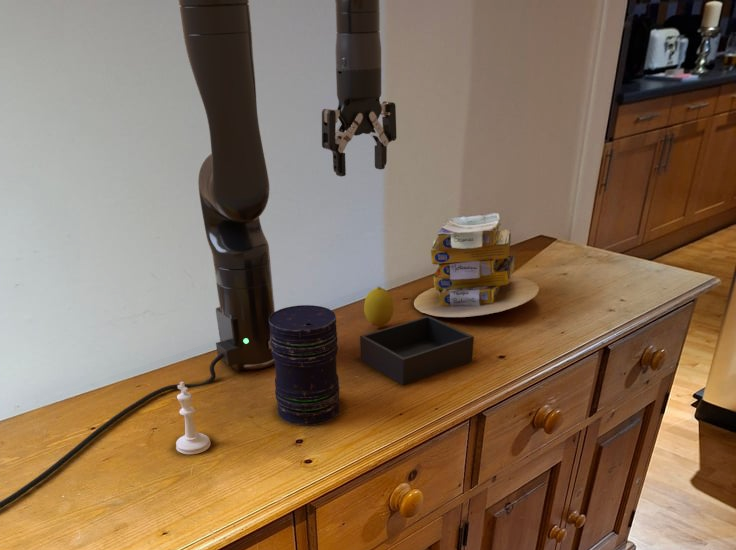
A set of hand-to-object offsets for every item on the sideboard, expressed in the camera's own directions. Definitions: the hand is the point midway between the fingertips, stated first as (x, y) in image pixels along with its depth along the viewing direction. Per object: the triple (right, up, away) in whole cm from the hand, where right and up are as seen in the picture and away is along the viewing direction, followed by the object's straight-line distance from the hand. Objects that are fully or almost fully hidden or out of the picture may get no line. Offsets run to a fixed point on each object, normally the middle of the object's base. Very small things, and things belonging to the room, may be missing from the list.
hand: (360, 172), depth 126 cm
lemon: (+4, -26, +9) cm, 28 cm away
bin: (+10, -34, -3) cm, 36 cm away
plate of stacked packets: (+24, -18, +18) cm, 35 cm away
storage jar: (-8, -45, -16) cm, 49 cm away
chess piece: (-24, -51, -24) cm, 62 cm away
